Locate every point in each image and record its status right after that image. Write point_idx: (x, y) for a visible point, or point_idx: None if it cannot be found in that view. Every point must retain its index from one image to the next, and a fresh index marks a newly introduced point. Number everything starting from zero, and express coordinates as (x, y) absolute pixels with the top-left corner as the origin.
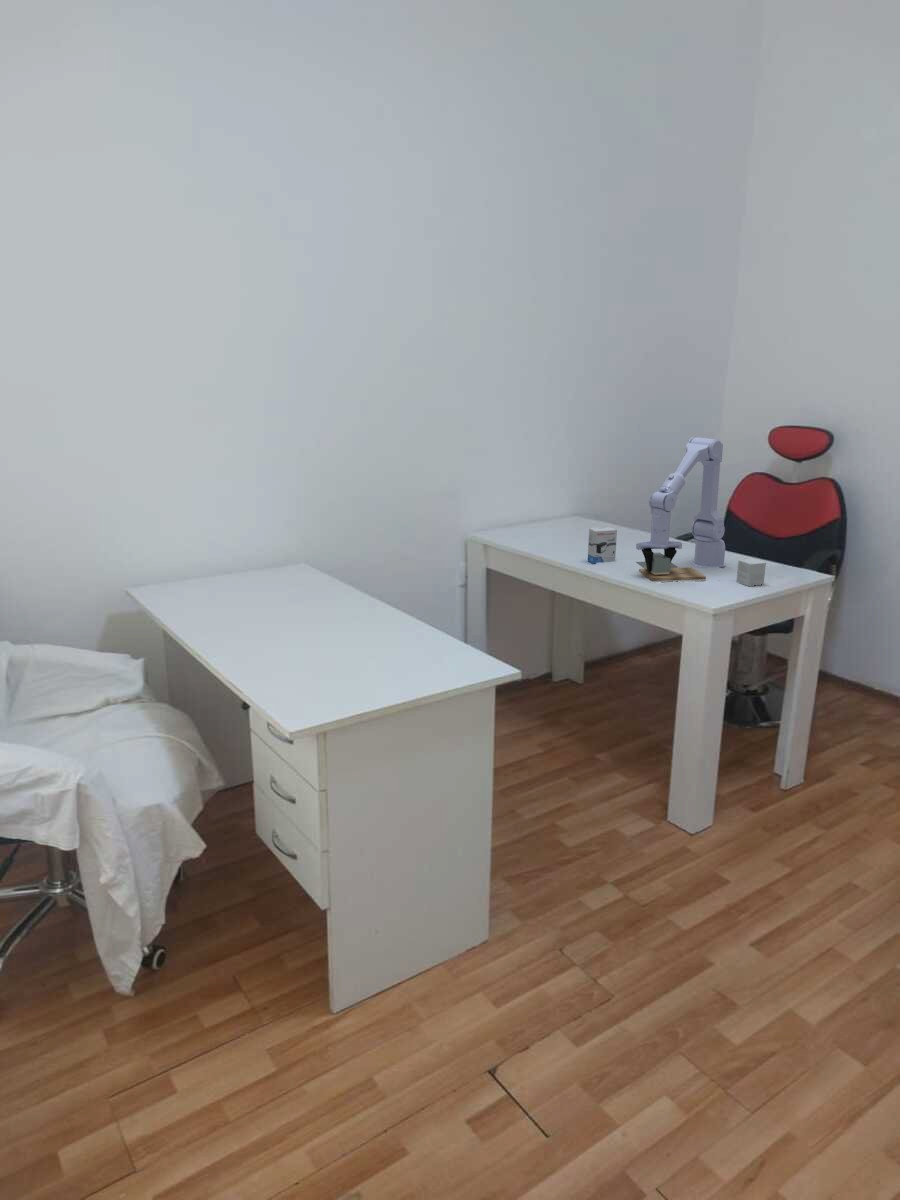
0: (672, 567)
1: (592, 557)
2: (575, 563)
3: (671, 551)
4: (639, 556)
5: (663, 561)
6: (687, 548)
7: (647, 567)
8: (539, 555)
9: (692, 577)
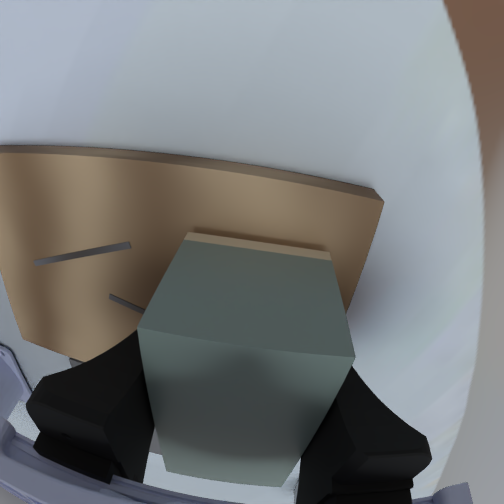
0: None
1: None
2: (419, 473)
3: (86, 416)
4: (180, 485)
5: (238, 321)
6: None
7: None
8: None
9: (43, 152)
